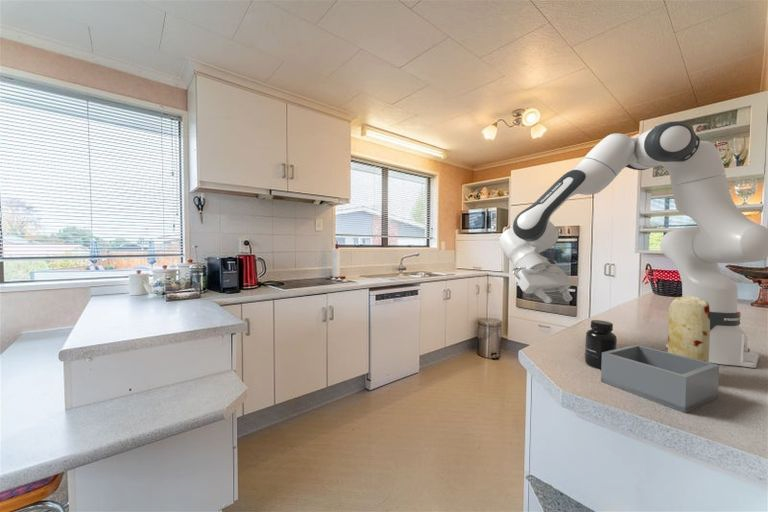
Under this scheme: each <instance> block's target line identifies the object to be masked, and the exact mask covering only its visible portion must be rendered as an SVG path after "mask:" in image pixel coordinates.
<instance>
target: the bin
mask: <svg viewBox="0 0 768 512" xmlns="http://www.w3.org/2000/svg"><path fill="white" fill-rule="evenodd" d="M719 378H720V364H717V363H711V362H705V361H701V360H697V359H693V358H689V357H685V356H681V355H677V354H673V353H669V352H668V351H664V350H659V349H656V348H652V347H647V346H643V345H641V344H632V345H628V346H625V347H624V346H623V347H619V348H616V349H615V350H610V351H606V352H602V363H601V369H600V382H601V383H604V384H606V385H610V386H612V387H614V388H617V389H620V390H622V391H625V392H627V391H628V392H627V393H631V394H633V395H636V396H639V397H641V398H644V399H647V400H648V401H649V400H650V401H652V402H655V403H657V404H660V405H662V406H664V407H668V408H670V409H674V410H676V411H678V412H681V413H683V414H686V413H688V412H691V411H693V410H695V409H697V408H698V407H700V406H703V405H705V404H707V403H709V402H711V401H714V400H716V399H718V398H719V382H720V381H719Z"/></svg>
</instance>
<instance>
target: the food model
mask: <svg viewBox="0 0 768 512" xmlns="http://www.w3.org/2000/svg"><path fill="white" fill-rule="evenodd" d="M667 327H668V328H667V329H668V330H667V331H668V332H667V334H668V335H667V344H668V348H667V352H669V353H673V354H677V355H681V356H685V357H689V358H693V359H697V360H701V361H705V362H709V346H710V309H709V304H708V303H707V302H706V301H703V300H702V299H700V298H697V297H693V296H683V297H682V296H676V297H675V298H674V299H673V300H672V301H671V303H670V304H669V308H668V326H667ZM709 363H710V362H709Z"/></svg>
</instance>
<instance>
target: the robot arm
mask: <svg viewBox="0 0 768 512" xmlns="http://www.w3.org/2000/svg"><path fill="white" fill-rule="evenodd" d="M700 139H701V138H700V137H699V136H697V134H696V132H695V130H694V128H693V127H691V126H690V125H689V124H688V123H685V122H684V121H674V120H673V121H669V122H667V121H666V122H664V123H661V124H658V125H657V126H655V127H652V128H650V129H647V130H645V131H644V132H642V133H641V134H640V135H638V136H636V137H634V138H633V137H630V136H628V135H627V134H624V133H618V132H617V133H610V134H608V135H607V136H605V137H604V138H603V139H601V140H600V141H599V142H598V143H597V144H596V145H595V146H594V147H592V148H591V150H590V151H588V152H587V154H586V155H585V156H584V157H583V158H582V159H581V160H580V161H579V162H578V163H577V165H576V166H575V167H573V169H571V170H570V171H568V172H566V173H565V174H563V175H561V177H560V178H558V179H557V180H556V181H555V182H554V183H553V184H552V185H551V186H550V187H549V188H547V190H546V191H545V192H544V193H543V194H542V195H541V196H540V197H539V198H538V199H537V200H536V201H535V202H534V203H532V204H531V205H530V206H528V207H527V208H524V209H523V210H521V211H520V212H519V213H518V214H517V215H516V217H514V220H513V224H512V227H510V228H507V229H506V230H504V231H503V232H502V234H501V235H500V238H499V246H500V248H501V249H502V251H503V253H504V255H505V256H506V258H507V259H508V260H509V261H510V262H512V263H513V265H514V268H513V269H512V274H513V275H514V278H515V281H516V283H517V284H518V286H519V288H520V289H521V291H522V292H524V293H525V294H534V295H535V296H536V297H538V298H539V299H541V300H542V301H543V302H544V303H545V304H551V303H552V302H553V298H552V297H551V295H547V294H546V293H551V292H559V293H560V294H562V299H563V300H564V301H565V302H571V301H572V300H573V297H572V295H571V294H570V290H569V289H570V288H571V286H572V285H573V282H572V280H571V279H570V277H569V276H568V275H567V274H566V272H565V271H564V270H563V269H562V268H561V267H559V266H558V262H557V261H556V260H553V259H551V258H547V257H545V256H543V255H541V254H540V253H543V252H545V251H546V250H548V249H550V248H552V247H553V246H554V245H556V243H557V242H558V240H559V237H560V232H559V230H558V228H557V227H556V226H555V225H554V223H552V222H551V221H550V219H551V216H553V214H555V212H556V211H557V210H558V209H560V207H561V206H562V205H563V204H564V203H566V201H568V200H569V199H570V198H571V197H572V196H576V195H585V196H588V195H595V194H598V193H600V192H602V191H603V190H604V189H606V188H607V187H609V185H610V184H611V183H612V182H613V181H614V180H615V179H616V178H617V176H618V175H619V174H620V173H621V172H622V170H624V169H625V168H628V169H629V170H634V171H645V170H649V169H652V168H658V167H663V168H664V169H666V171H667V173H668V174H669V178H670V179H669V180H670V185H671V189H672V195H673V199H674V205H675V208H676V210H677V211H678V212H679V213H681V214H682V215H685V216H687V217H689V218H690V219H692V220H693V222H694V223H695V224H696V225H697V226H686V227H682V228H677V229H673V230H671V231H668V232H666V233H665V234H664V235H663V236H662V238H661V240H660V245H659V247H660V250H661V252H662V254H663V255H664V256H665V257H666V258H668V259H669V260H670V261H672V263H673V264H674V266H675V267H676V269H677V272H678V273H679V277H680V281H681V289H682V291H681V293H682V295H681V297H683V296H693V297H697V298H700V299H702V300H703V301H706V302H707V303H708V304H709V309H710V346H709V363H713V364H717V365H725V366H738V367H746V368H752V369H754V368H755V369H756V368H757V366H758V362H759V359H760V356H759V354H758V353H756V352H752V351H750V350H751V349H750V348H749V347H748V335H746V333H745V332H744V331H743V330H742V327H740V325H741V316H742V313H741V311H738V298H739V297H738V294H739V288H738V285H737V284H736V283H735V281H733V280H732V279H731V278H728V277H726V276H725V275H724V273H722V271H721V269H720V267H719V265H718V264H737V265H738V264H744V263H745V264H748V263H755V262H761V261H764V260H766V259H767V258H768V228H767V227H766V226H764V225H761V224H759V223H757V222H754V221H753V220H752V219H750V218H749V217H747V216H746V215H745V214H744V213H743V212H742V211H741V210H740V209H739V207H738V206H737V205H736V204H735V202H734V200H733V197H732V195H731V191H730V187H729V183H728V179H727V175H726V169H725V166H724V163H723V161H722V157H721V156H720V154H719V152H718V149H717V147H716V146H715V144H714V143H713V142H711V141H707V140H700ZM665 348H667V349H668V343H665Z"/></svg>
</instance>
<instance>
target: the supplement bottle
mask: <svg viewBox="0 0 768 512" xmlns="http://www.w3.org/2000/svg"><path fill="white" fill-rule="evenodd" d="M613 328H614V326H613V323H612V322H610V321H607V320H606V321H605V320H599V319H593V320H591V321H590V329H589V330H587V331H586V333H585V345H584V346H585V350H584V362H585V364H586V365H587V366H590V367H591V368H595V369H598V370H601V363H602V352H606V351H610V350H615V349H617V343H618V342H617V341H618V337H617V335H616V334H615V333H614V332H613V331H614V329H613Z"/></svg>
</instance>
